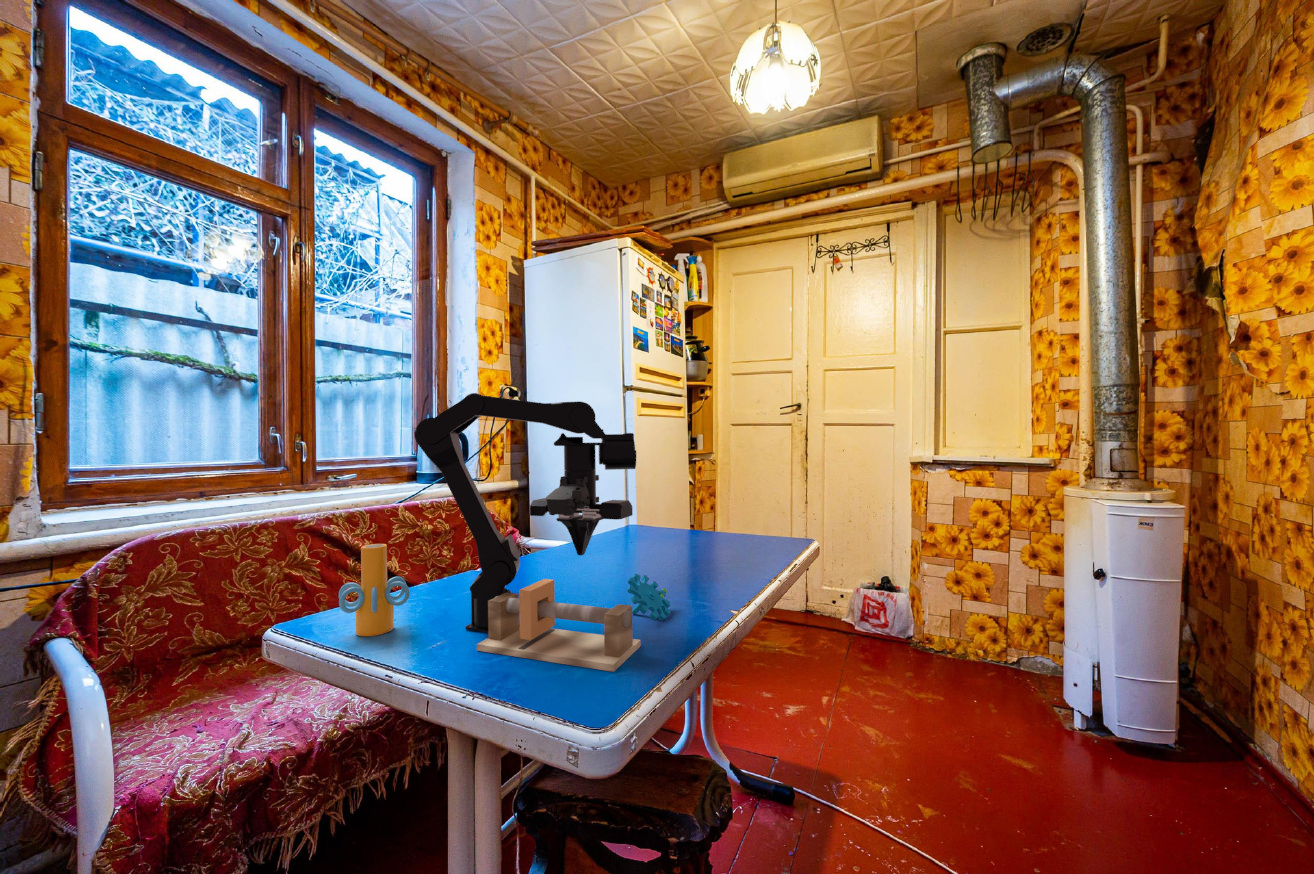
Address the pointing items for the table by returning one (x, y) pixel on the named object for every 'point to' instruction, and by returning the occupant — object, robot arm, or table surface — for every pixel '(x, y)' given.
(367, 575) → the cylinder
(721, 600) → the table surface
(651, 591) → the gear
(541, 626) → the collar
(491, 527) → the robot arm
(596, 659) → the pipe rig
